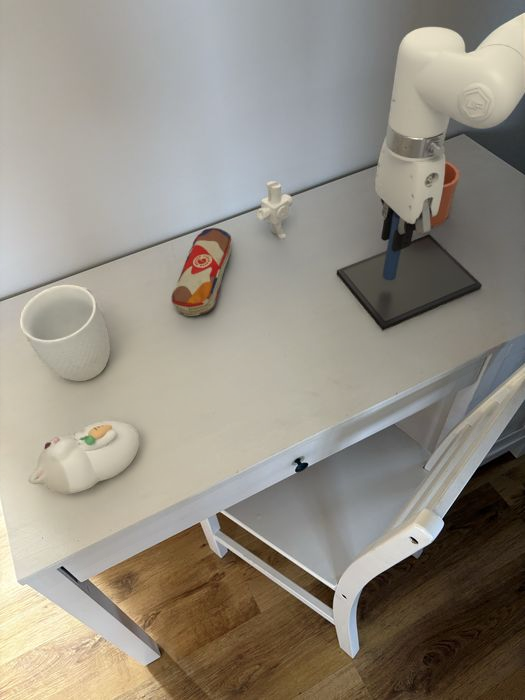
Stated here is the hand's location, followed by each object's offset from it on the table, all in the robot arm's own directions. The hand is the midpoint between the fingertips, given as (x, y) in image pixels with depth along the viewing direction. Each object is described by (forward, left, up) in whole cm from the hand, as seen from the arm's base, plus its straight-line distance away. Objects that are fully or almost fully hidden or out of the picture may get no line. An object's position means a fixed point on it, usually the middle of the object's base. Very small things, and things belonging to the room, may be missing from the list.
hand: (395, 241), depth 85 cm
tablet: (-4, 0, -11) cm, 12 cm away
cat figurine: (+55, +10, -11) cm, 57 cm away
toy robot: (+11, -22, -11) cm, 27 cm away
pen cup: (-18, -14, -11) cm, 26 cm away
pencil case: (+27, -18, -11) cm, 34 cm away
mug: (+51, -10, -11) cm, 53 cm away
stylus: (0, 0, -8) cm, 8 cm away
